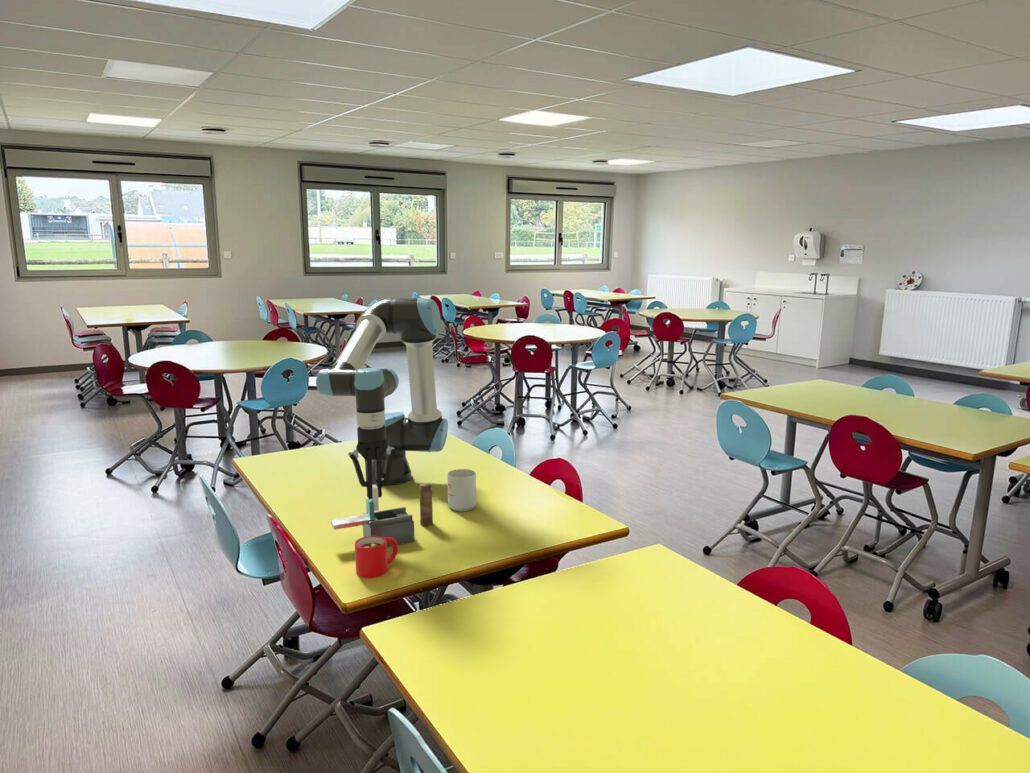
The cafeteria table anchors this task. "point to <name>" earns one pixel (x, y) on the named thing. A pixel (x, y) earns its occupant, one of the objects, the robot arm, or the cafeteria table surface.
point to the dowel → (426, 504)
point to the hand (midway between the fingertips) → (375, 508)
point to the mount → (391, 525)
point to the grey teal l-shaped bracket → (355, 518)
